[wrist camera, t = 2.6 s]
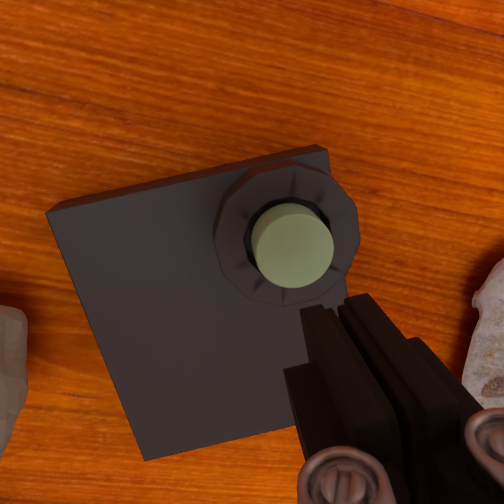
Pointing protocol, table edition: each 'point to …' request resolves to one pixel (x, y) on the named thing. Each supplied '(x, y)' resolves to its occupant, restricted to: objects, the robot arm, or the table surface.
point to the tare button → (291, 245)
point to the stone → (487, 343)
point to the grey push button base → (201, 294)
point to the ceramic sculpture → (12, 369)
